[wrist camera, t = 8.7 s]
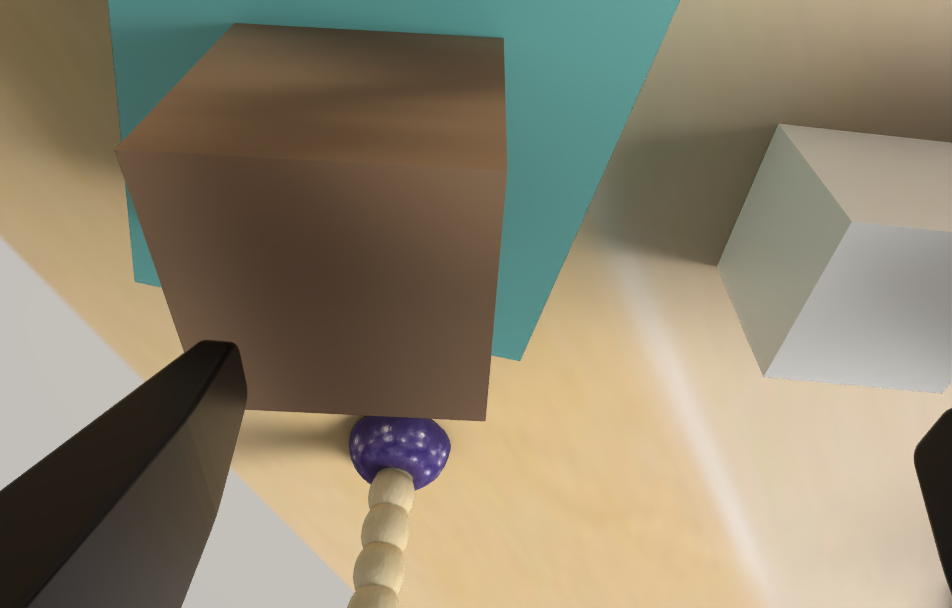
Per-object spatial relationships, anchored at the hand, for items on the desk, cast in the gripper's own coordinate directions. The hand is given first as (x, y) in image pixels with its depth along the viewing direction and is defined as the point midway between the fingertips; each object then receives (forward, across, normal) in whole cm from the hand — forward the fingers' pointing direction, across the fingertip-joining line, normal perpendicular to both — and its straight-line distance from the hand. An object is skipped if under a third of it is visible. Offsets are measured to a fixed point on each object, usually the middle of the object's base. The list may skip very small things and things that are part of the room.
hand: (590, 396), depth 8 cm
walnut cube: (+7, +4, 0) cm, 8 cm away
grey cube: (+12, -9, +4) cm, 15 cm away
